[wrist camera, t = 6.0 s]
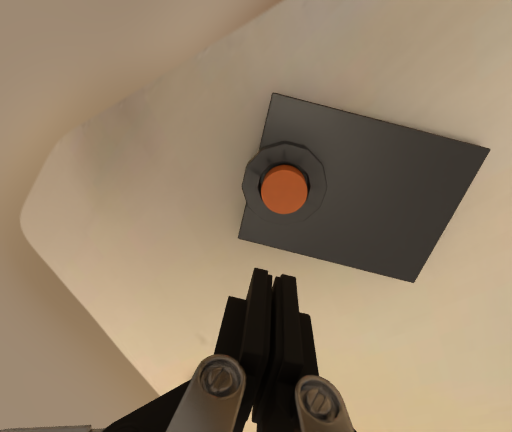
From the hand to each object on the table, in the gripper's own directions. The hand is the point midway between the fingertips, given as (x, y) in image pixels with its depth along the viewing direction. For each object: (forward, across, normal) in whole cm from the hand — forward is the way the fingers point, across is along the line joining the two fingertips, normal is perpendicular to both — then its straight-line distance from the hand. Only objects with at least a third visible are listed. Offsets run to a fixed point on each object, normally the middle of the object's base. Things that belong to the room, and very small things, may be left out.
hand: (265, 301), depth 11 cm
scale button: (+11, 0, -2) cm, 11 cm away
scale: (+14, -6, -2) cm, 15 cm away
